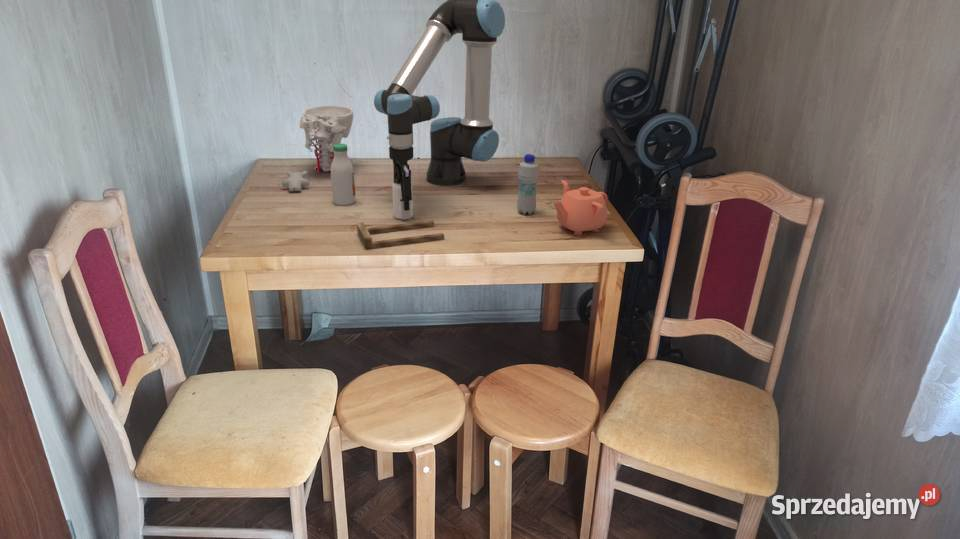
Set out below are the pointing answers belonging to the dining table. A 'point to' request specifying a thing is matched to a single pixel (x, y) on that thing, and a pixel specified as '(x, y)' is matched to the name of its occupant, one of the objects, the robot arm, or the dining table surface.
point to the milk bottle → (342, 177)
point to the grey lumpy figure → (296, 181)
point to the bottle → (527, 185)
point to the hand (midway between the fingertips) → (403, 214)
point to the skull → (326, 131)
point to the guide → (367, 239)
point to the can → (396, 200)
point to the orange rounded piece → (581, 209)
